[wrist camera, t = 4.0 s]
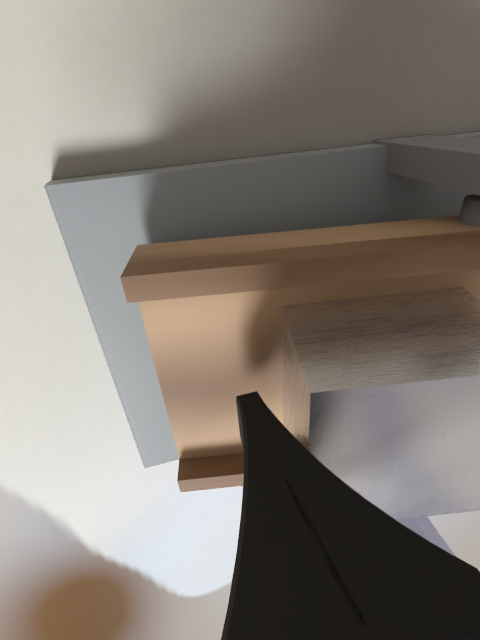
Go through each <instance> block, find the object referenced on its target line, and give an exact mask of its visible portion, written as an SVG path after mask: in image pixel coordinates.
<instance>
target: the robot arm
mask: <svg viewBox="0 0 480 640" xmlns="http://www.w3.org/2000/svg"><path fill="white" fill-rule="evenodd" d="M236 404H237V413H238V422H239V431H240V438H241V442H242V446H243V451H244V482H243V499H242V511H241V521H240V530H239V539H238V547H237V554H236V561H235V567H234V573H233V579H232V586H231V592H230V598H229V603H228V609H227V614H226V619H225V624H224V629H223V634H222V638H221V640H480V572H479V571H478V569H477V568H475V567H473V566H471V565H470V564H468V563H466V562H464V561H462V560H461V559H459V558H457V557H456V556H455V555H454V553H453V552H452V551H451V549H450V548H449V546H448V545H447V543H446V542H445V541H444V539H443V538H442V537H441V535H440V534H439V532H438V531H437V530H436V528H435V527H434V525H433V524H432V523H431V521H430V520H429V518H428V517H427V516H423V517H414V518H405V519H394V518H393V517H391V516H390V515H388V514H387V513H385V512H384V511H382V510H381V509H380V508H378V507H377V506H375V505H374V504H372V503H371V502H369V501H368V500H367V499H365V498H364V497H363V496H361V495H360V494H359V493H357V492H356V491H355V490H354V489H352V488H351V487H350V486H348V485H347V484H346V483H345V482H343V481H342V480H341V479H340V478H339V477H337V476H336V475H335V474H334V473H333V472H331V471H330V470H329V469H328V468H327V467H326V466H324V465H323V464H322V463H321V462H320V461H319V460H318V459H317V458H316V457H315V456H314V455H312V454H311V453H310V452H309V451H308V450H307V449H306V448H305V447H304V446H303V445H302V444H301V443H300V442H299V441H298V440H297V439H296V438H295V437H294V436H293V435H292V434H291V433H290V432H289V431H288V430H287V428H286V427H285V426H284V425H283V424H282V423H281V422H280V421H279V420H278V418H277V417H276V416H275V415H274V414H273V413H272V411H271V410H270V409H269V408H268V407H267V405H266V404H265V403H264V401H263V400H262V398H261V397H260V395H259V393H258V392H257V391H255V392H251V393H247V394H243V395H239V396H236Z"/></svg>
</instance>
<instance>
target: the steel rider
mask: <svg viewBox="0 0 480 640" xmlns="http://www.w3.org/2000/svg"><path fill="white" fill-rule="evenodd" d="M281 317H282V380H283V425H284V426H285V427H286V428H287V430H288V431H289V432H290V433H291V434H292V435H293V436H294V437H295V438H296V439H297V440H298V441H299V442H300V443H301V444H302V445H303V446H304V447H305V448H306V449H307V450H308V451H309V452H310V453H311V454H312V455H314V456H315V457H316V458H317V459H318V460H319V461H320V462H321V463H322V464H323V465H324V466H326V467H327V468H328V469H329V470H330V471H331V472H333V473H334V474H335V475H336V476H337V477H339V478H340V479H341V480H342V481H343V482H345V483H346V484H347V485H348V486H350V487H351V488H352V489H354V490H355V491H356V492H357V493H359V494H360V495H361V496H363V497H364V498H365V499H367V500H368V501H369V502H371V503H372V504H374V505H375V506H377V507H378V508H380V509H381V510H382V511H384V512H385V513H387V514H388V515H390V516H391V517H393V518H394V519H405V518H414V517H423V516H432V515H441V514H450V513H459V512H468V511H477V510H480V299H478V298H477V297H476V296H474V295H473V294H471V293H470V292H469V291H467V290H466V289H465V288H463V287H462V288H452V289H442V290H432V291H422V292H412V293H403V294H393V295H383V296H373V297H363V298H353V299H343V300H333V301H323V302H313V303H304V304H294V305H284V306H281Z"/></svg>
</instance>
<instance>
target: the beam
mask: <svg viewBox="0 0 480 640" xmlns="http://www.w3.org/2000/svg"><path fill="white" fill-rule="evenodd" d="M120 279H121V282H122V286H123V289H124V293H125V296H126V300H127V303H134V302H138V303H139V307H140V311H141V315H142V319H143V322H144V326H145V330H146V334H147V338H148V341H149V345H150V349H151V353H152V357H153V360H154V364H155V368H156V372H157V376H158V379H159V383H160V387H161V391H162V395H163V399H164V402H165V406H166V410H167V414H168V418H169V421H170V425H171V429H172V433H173V437H174V440H175V444H176V448H177V452H178V456H179V459H180V460H179V471H178V484H179V488H180V491H181V492H186V491H195V490H205V489H214V488H224V487H234V486H243V482H244V451H243V446H242V442H241V438H240V431H239V422H238V413H237V404H236V396H239V395H243V394H247V393H251V392H255V391H257V392H258V393H259V395H260V397H261V398H262V400H263V401H264V403H265V404H266V405H267V407H268V408H269V409H270V410H271V411H272V413H273V414H274V415H275V416H276V417H277V418H278V420H279V421H280V422H281V423H282V424H283V380H282V317H281V306H284V305H294V304H304V303H313V302H323V301H333V300H343V299H353V298H363V297H373V296H383V295H393V294H403V293H412V292H422V291H432V290H442V289H452V288H462V287H463V288H465V289H466V290H467V291H469V292H470V293H471V294H473V295H474V296H476V297H477V298H478V299H480V195H476V194H472V195H467V196H465V198H464V201H463V205H462V209H461V212H460V215H459V216H448V217H437V218H426V219H415V220H404V221H393V222H382V223H371V224H360V225H349V226H338V227H327V228H317V229H306V230H295V231H284V232H273V233H262V234H251V235H240V236H229V237H218V238H207V239H196V240H185V241H174V242H163V243H152V244H141V245H137V246H136V248H135V250H134V252H133V254H132V256H131V258H130V259H129V261H128V263H127V265H126V267H125V269H124V271H123V273H122V274H121V276H120Z"/></svg>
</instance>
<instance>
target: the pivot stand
mask: <svg viewBox="0 0 480 640" xmlns="http://www.w3.org/2000/svg"><path fill="white" fill-rule="evenodd" d="M44 187H45V190H46V192H47V195H48V198H49V201H50V204H51V206H52V209H53V212H54V215H55V218H56V221H57V223H58V226H59V229H60V232H61V235H62V237H63V240H64V243H65V246H66V249H67V251H68V254H69V257H70V260H71V263H72V265H73V268H74V271H75V274H76V277H77V279H78V282H79V285H80V288H81V291H82V294H83V296H84V299H85V302H86V305H87V308H88V310H89V313H90V316H91V319H92V322H93V324H94V327H95V330H96V333H97V336H98V338H99V341H100V344H101V347H102V350H103V352H104V355H105V358H106V361H107V364H108V367H109V369H110V372H111V375H112V378H113V381H114V383H115V386H116V389H117V392H118V395H119V397H120V400H121V403H122V406H123V409H124V411H125V414H126V417H127V420H128V423H129V425H130V428H131V431H132V434H133V437H134V439H135V442H136V445H137V448H138V451H139V454H140V456H141V459H142V462H143V465H144V468H147V467H151V466H155V465H159V464H162V463H166V462H170V461H174V460H178V459H179V456H178V452H177V448H176V444H175V440H174V437H173V433H172V429H171V425H170V421H169V418H168V414H167V410H166V406H165V402H164V399H163V395H162V391H161V387H160V383H159V379H158V376H157V372H156V368H155V364H154V360H153V357H152V353H151V349H150V345H149V341H148V338H147V334H146V330H145V326H144V322H143V319H142V315H141V311H140V307H139V303H138V302H134V303H127V300H126V296H125V293H124V289H123V286H122V282H121V279H120V276H121V274H122V273H123V271H124V269H125V267H126V265H127V263H128V261H129V259H130V258H131V256H132V254H133V252H134V250H135V248H136V246H137V245H141V244H152V243H163V242H174V241H185V240H196V239H207V238H218V237H229V236H240V235H251V234H262V233H273V232H284V231H295V230H306V229H317V228H327V227H338V226H349V225H360V224H371V223H382V222H393V221H404V220H415V219H426V218H437V217H448V216H459V215H460V212H461V209H462V205H463V201H464V198H465V196H467V195H472V194H476V195H480V131H478V132H469V133H460V134H452V135H443V136H442V135H430V134H427V135H418V136H410V137H401V138H392V139H383V140H374V143H373V144H364V145H355V146H347V147H338V148H329V149H320V150H312V151H303V152H294V153H285V154H277V155H268V156H259V157H250V158H242V159H233V160H224V161H215V162H207V163H198V164H189V165H180V166H172V167H163V168H154V169H145V170H137V171H128V172H119V173H110V174H102V175H93V176H84V177H75V178H67V179H58V180H51V181H49V182H48V183H47V184H46V185H45V186H44Z"/></svg>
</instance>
